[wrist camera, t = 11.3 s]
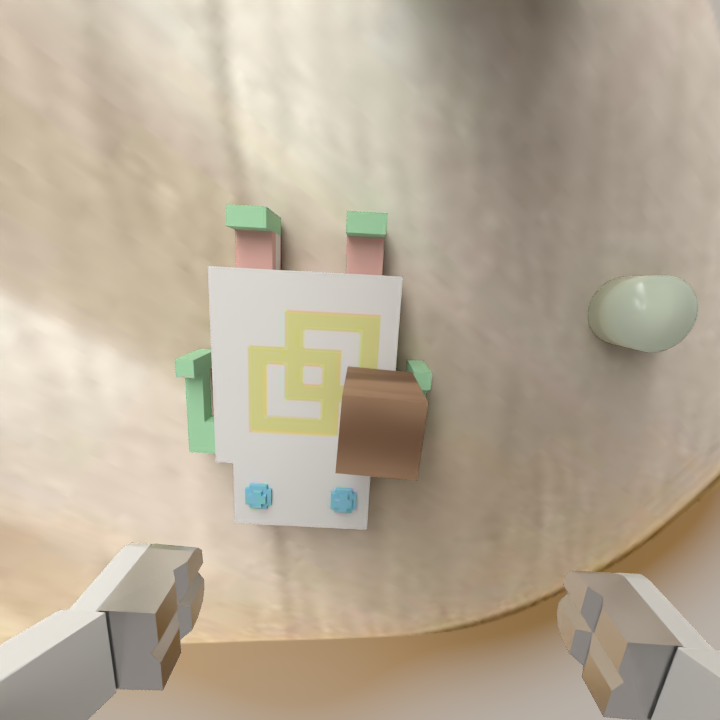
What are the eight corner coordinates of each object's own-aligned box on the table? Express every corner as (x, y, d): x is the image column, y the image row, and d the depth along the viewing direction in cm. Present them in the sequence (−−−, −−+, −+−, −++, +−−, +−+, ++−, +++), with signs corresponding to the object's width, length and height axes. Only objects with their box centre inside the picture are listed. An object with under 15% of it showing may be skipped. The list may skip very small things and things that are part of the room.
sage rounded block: (598, 271, 31) (632, 270, 27) (665, 281, 31) (708, 281, 27) (579, 339, 32) (610, 346, 28) (643, 348, 32) (682, 357, 28)
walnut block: (347, 366, 27) (342, 394, 20) (412, 372, 27) (428, 403, 20) (342, 426, 28) (335, 473, 21) (404, 432, 28) (417, 480, 22)
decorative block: (417, 538, 30) (181, 526, 30) (408, 493, 36) (212, 483, 36) (450, 214, 24) (159, 198, 24) (432, 228, 31) (200, 215, 31)
